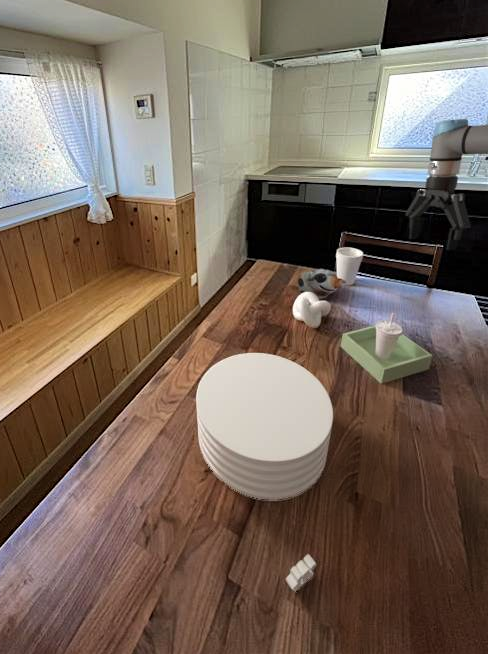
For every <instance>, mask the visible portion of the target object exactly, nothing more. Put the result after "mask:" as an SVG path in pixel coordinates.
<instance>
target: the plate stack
mask: <svg viewBox="0 0 488 654" xmlns="http://www.w3.org/2000/svg"><path fill="white" fill-rule="evenodd" d="M195 405H196V406H195V407H196V420H197V436H198V443H199V444H198V446H199V449H200V452H201V455H202V454H203V455H202V458H203V461H204V462H205V464H206V465H207V464H208V465H207V467H208V468H209V467H210V468H209V470H210V471H211V470H212V471H213V472H212V471H211V472H212V474H213V475H214V476H215V477H216V479H218V480H219V481H220V482H221V483H223V482H224V483H226V484H227V485H228V486H229V487H228V486H227V485H226V484H224V483H223V484H224V485H225V486H226V487H228V488H229V489H231V490H232V491H233V492H236V493H238V494H240V495H242V496H244V497H247V498H250V499H254V500H258V501H262V500H261V499H269V500H263V501H266V502H280V501H281V502H282V501H286V500H290V499H294V498H296V497H298V496H300V495H303V494H304V493H306V492H307V491H308V490H310V489H311V488H312V487H313V486H314V485H315V484H316V483H317V482H318V480H319V479H320V478H321V476H322V474H323V472H324V469H325V466H326V462H327V458H328V457H327V456H328V451H329V444H330V439H331V434H332V428H333V422H334V421H333V420H334V409H333V405H332V401H331V398H330V396H329V393H328V392H327V390H326V388H325V386H323V384H322V382H321V381H320V380H319V379H318V378H317V377H316V376H315V375H314V374H313V373H311V372H310V371H309V370H308V369H306V368H305V367H303V366H302V365H300V364H298V363H296V362H294V361H293V360H290V359H287V358H285V357H283V356H279V355H275V354H270V353H263V352H246V353H239V354H235V355H232V356H231V355H230V356H228V357H226V358H223V359H222V360H220V361H218V362H216V363H215V364H214V365H212V366H211V367H210V368H209V369H208V370H207V371H206V372H205V373H204V375H203V376H201V379H200V381H199V383H198V386H197V390H196V395H195ZM322 471H323V472H322ZM321 473H322V474H321ZM318 478H319V479H318ZM317 479H318V480H317ZM316 480H317V481H316ZM222 481H223V482H222ZM313 484H314V485H313ZM311 485H313V486H311ZM310 486H311V487H310ZM230 487H231V488H230ZM309 487H310V488H309ZM308 488H309V489H308ZM233 489H234V490H233ZM306 489H308V490H306ZM235 490H236V491H235ZM305 490H306V491H305ZM237 491H238V492H237ZM303 491H305V492H303ZM239 492H240V493H239ZM301 492H303V493H301ZM241 493H242V494H241ZM299 493H301V494H299ZM243 494H244V495H243ZM297 494H299V495H297ZM246 495H247V496H246ZM294 495H297V496H295V497H292V498H288V497H291V496H294ZM249 496H250V497H249ZM252 497H254V498H252ZM256 498H258V499H256ZM283 498H288V499H283ZM270 499H271V500H270ZM273 499H274V500H273ZM277 499H283V500H277Z"/></svg>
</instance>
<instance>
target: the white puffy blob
mask: <svg viewBox="0 0 488 654" xmlns="http://www.w3.org/2000/svg"><path fill="white" fill-rule="evenodd" d="M296 297H297V298H296V299H295V301H294V303H293V305H292V315H293V318H295V320H297V321H299V322H303V323H305V325H306V326H307V327H309V328H310V329H318V328H319V326H320V325H321V322H322V317H324V316H327V315H328V314H329V313H330V312H331V311H332V310H331V309H332V305H331V303H330V302H328V301H327V300H319V299H318V297H317V296H316V295H315V294H314V293H312V292H304V293H300V294H299V295H298V296H296Z"/></svg>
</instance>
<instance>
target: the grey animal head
mask: <svg viewBox="0 0 488 654" xmlns="http://www.w3.org/2000/svg"><path fill="white" fill-rule="evenodd" d="M296 284H297V289H298V290H299V292H300V294H302V293H304V292H312V293H314V294H315V295H316V296H317V297H318V299H319V301H321V300H322V299H324V298H327V297H328V296H329V295H331V294H333V293H334V292H336V291H338V290H340V289H342V288H344V287H345V286H346V285H345V284H346V281H344V280H342V279H340V278H338V277H337V273H334V271H332V270H329V269H324V268H318V269H314V270H313V271H308V272H303V273H301V274H299V275H298V277H297V280H296Z"/></svg>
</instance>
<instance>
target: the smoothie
mask: <svg viewBox="0 0 488 654" xmlns="http://www.w3.org/2000/svg"><path fill="white" fill-rule="evenodd" d="M394 317H395V312H392V313H391V317H390V320H379V321H377V322H376V324H375V325H376V326H375V325H374V326H375V328H376V350H375V354H376V356H377V357H379V358H381V359H385V360H387V359H389V358H390V357H391V354H392V352H393V350H394V348H395V345H396V343H397V341H398V339H399V336H401V335H402V334H403V327H402V326H400V324H398V323H396V322H394Z"/></svg>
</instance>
